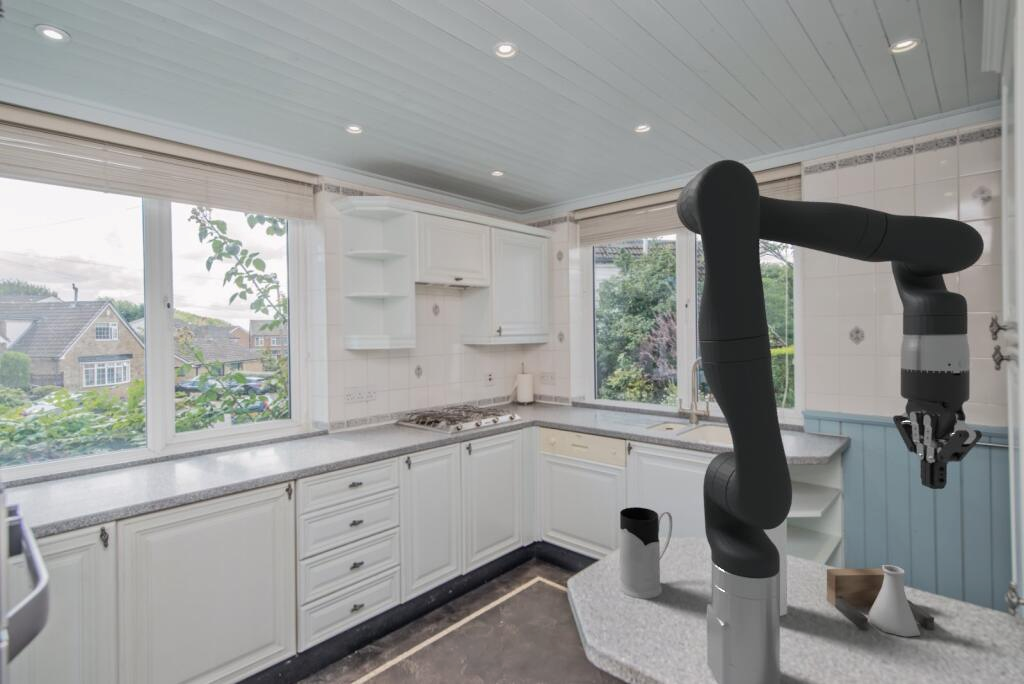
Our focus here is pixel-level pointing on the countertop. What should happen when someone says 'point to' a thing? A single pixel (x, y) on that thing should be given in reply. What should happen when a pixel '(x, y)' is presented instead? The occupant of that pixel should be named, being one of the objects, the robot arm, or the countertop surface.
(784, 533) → the milk
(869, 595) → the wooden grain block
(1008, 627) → the countertop surface
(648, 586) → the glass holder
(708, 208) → the robot arm
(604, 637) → the countertop surface
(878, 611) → the flask
